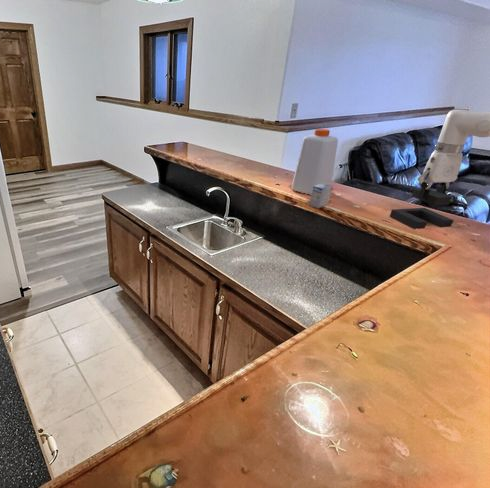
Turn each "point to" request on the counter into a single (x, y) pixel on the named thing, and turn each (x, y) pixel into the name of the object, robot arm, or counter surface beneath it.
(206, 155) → the counter surface
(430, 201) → the black pad
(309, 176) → the plastic bottle
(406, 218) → the base pad
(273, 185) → the counter surface
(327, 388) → the counter surface
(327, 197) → the medicine box
